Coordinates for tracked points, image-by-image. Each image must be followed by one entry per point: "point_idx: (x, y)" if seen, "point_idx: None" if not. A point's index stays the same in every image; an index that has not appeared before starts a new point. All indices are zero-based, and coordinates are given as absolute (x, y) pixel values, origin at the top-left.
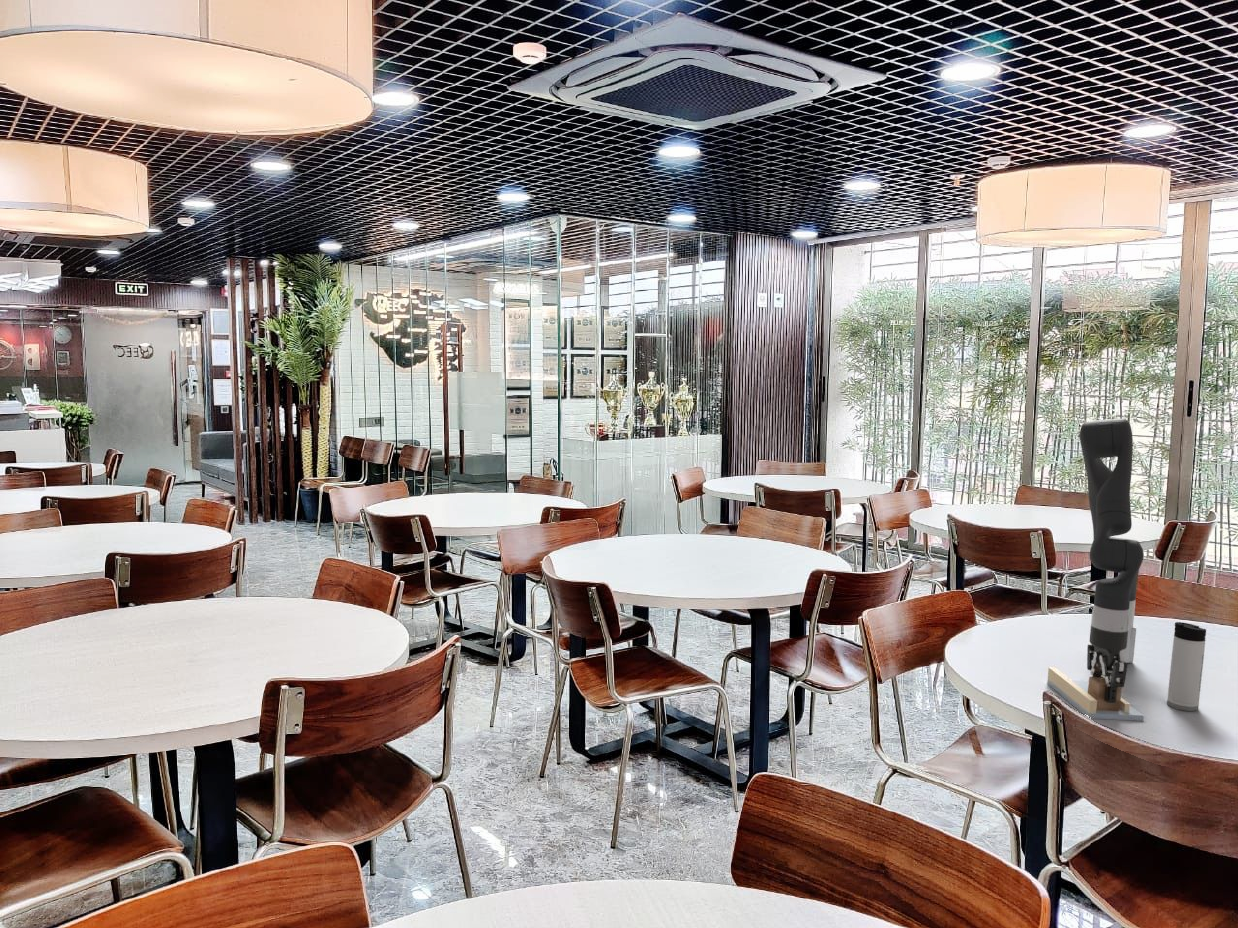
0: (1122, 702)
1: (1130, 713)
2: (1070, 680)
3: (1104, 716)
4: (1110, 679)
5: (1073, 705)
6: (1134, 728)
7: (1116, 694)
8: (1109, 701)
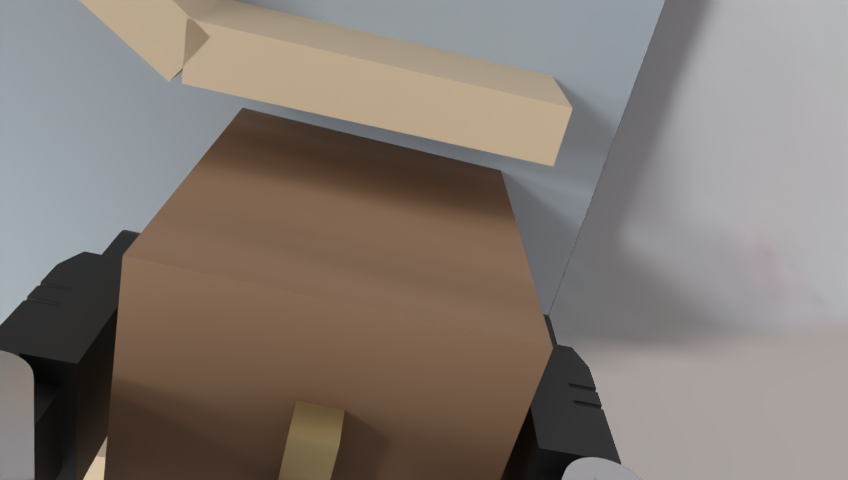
0: (480, 145)
1: (582, 79)
2: None
3: None
4: (335, 444)
5: None
6: (791, 208)
7: (566, 377)
8: None
